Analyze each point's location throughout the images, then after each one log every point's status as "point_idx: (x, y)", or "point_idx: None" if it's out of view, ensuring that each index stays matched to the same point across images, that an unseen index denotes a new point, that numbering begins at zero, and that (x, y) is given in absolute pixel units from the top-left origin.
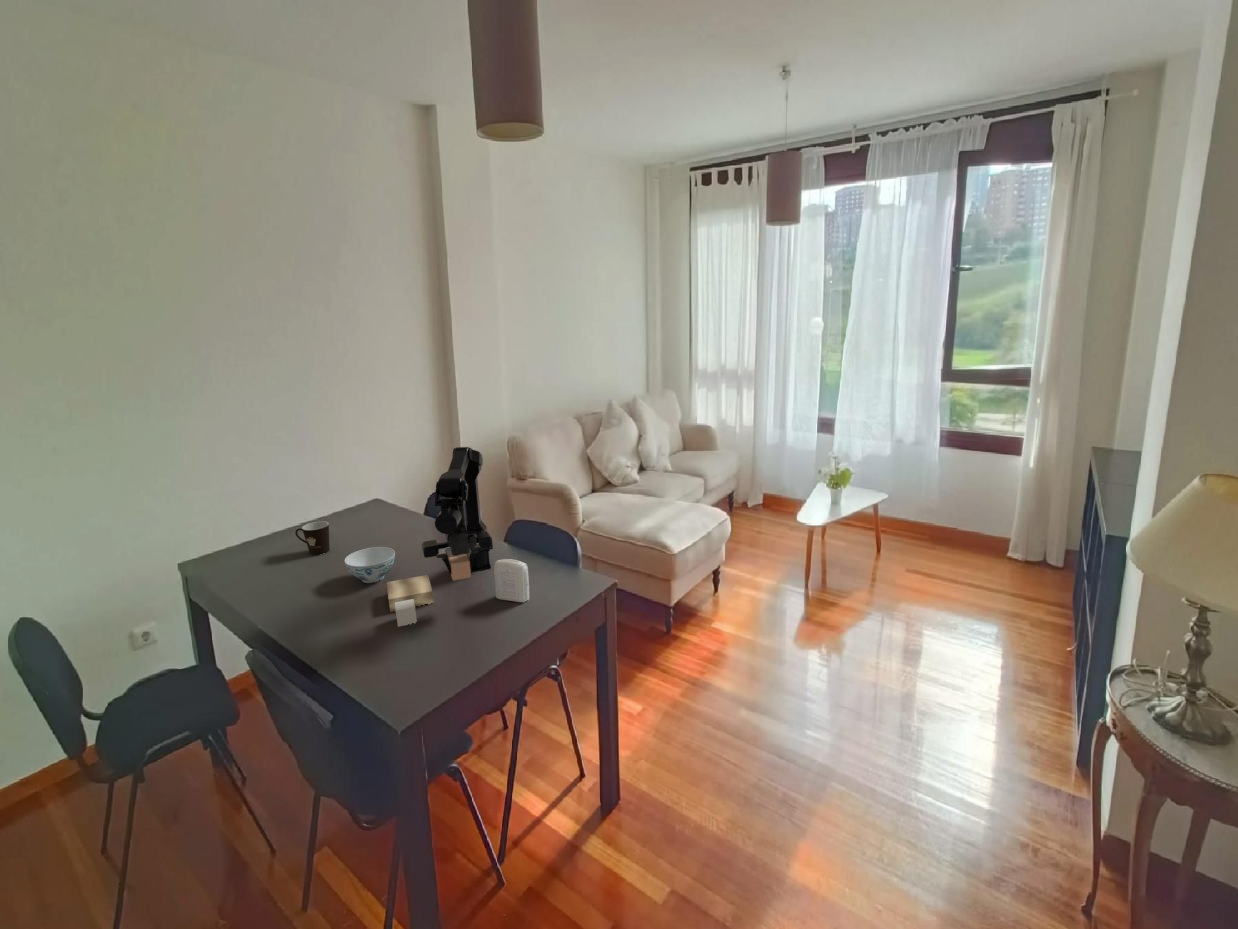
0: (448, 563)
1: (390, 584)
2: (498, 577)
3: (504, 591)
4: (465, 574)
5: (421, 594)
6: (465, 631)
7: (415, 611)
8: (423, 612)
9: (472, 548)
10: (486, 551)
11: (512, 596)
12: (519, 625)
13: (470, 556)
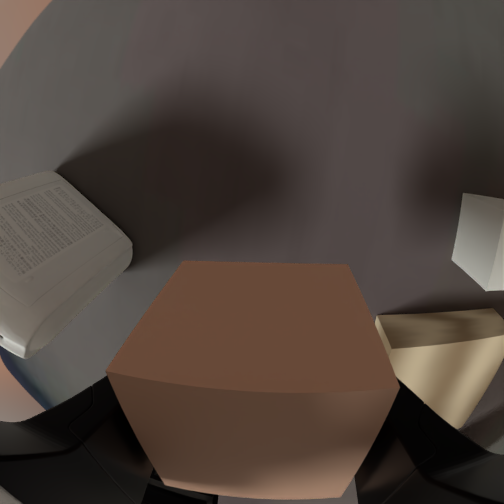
0: (404, 421)
1: (462, 416)
2: (59, 269)
3: (82, 224)
4: (222, 279)
5: (429, 341)
6: (299, 20)
7: (491, 204)
8: (426, 263)
9: (6, 499)
10: (153, 472)
11: (68, 196)
12: (98, 14)
13: (84, 431)
